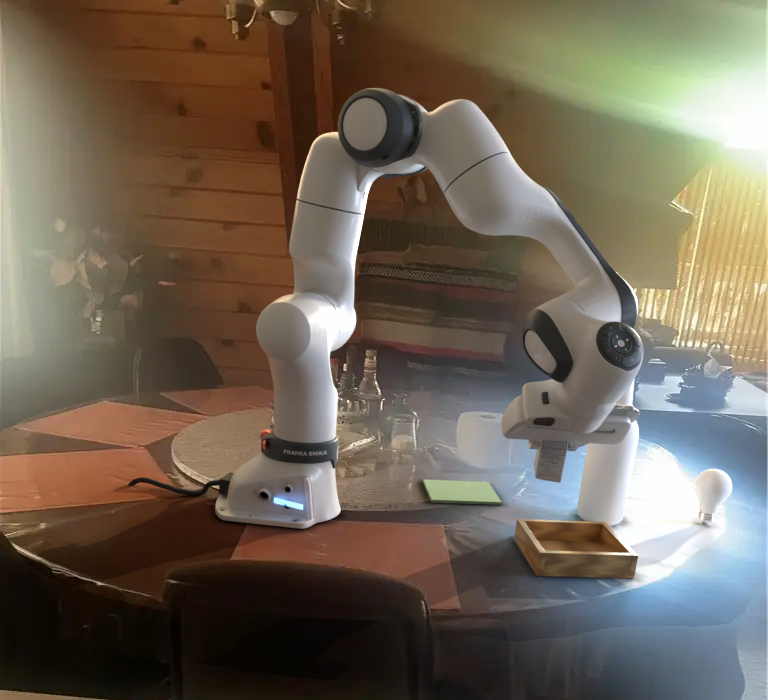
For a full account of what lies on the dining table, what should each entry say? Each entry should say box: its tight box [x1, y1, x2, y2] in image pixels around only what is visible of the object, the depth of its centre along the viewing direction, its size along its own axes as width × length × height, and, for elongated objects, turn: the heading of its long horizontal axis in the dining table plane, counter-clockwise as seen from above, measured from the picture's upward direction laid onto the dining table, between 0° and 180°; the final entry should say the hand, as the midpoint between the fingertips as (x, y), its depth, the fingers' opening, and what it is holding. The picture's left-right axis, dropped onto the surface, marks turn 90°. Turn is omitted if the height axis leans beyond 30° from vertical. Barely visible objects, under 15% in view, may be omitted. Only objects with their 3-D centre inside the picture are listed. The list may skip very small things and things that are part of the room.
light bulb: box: [694, 468, 733, 525], centre depth 145 cm, size 7×7×11 cm
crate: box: [513, 518, 639, 579], centre depth 126 cm, size 16×14×4 cm
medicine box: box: [533, 440, 569, 483], centre depth 128 cm, size 8×4×9 cm, turn 170°
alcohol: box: [576, 378, 640, 527], centre depth 141 cm, size 9×9×30 cm
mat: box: [422, 479, 503, 506], centre depth 153 cm, size 14×12×1 cm
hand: (551, 446), depth 128 cm, fingers closed on medicine box, 5 cm apart
